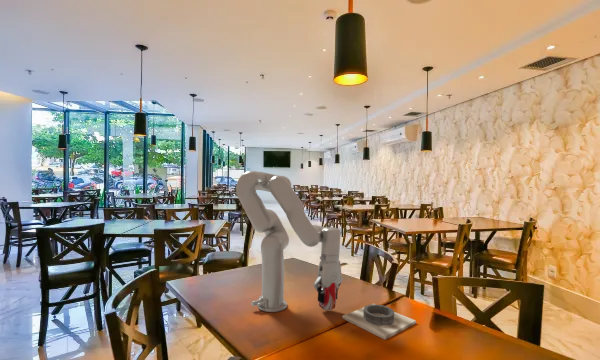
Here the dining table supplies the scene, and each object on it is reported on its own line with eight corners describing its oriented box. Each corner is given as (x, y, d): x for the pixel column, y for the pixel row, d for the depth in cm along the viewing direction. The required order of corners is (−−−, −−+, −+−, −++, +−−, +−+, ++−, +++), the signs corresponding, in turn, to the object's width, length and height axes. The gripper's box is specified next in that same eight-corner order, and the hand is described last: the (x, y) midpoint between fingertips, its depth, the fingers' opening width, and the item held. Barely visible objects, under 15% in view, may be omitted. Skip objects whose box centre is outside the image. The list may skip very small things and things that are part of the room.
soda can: (334, 312, 120) (336, 282, 120) (317, 309, 121) (319, 280, 121) (336, 305, 127) (337, 277, 127) (319, 302, 128) (321, 275, 128)
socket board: (384, 339, 103) (385, 328, 103) (342, 318, 118) (342, 308, 118) (415, 323, 115) (416, 312, 115) (373, 305, 131) (373, 296, 131)
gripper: (320, 262, 116) (318, 308, 116) (350, 257, 126) (348, 299, 127) (308, 258, 121) (305, 301, 121) (338, 253, 132) (335, 293, 132)
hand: (327, 299), depth 124 cm, fingers closed on soda can, 7 cm apart
